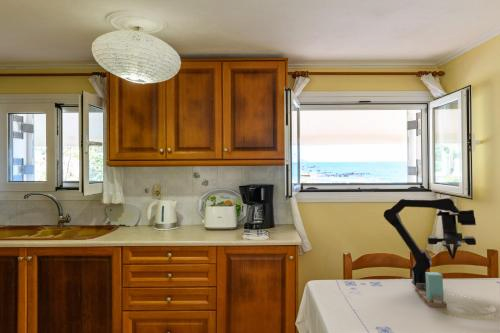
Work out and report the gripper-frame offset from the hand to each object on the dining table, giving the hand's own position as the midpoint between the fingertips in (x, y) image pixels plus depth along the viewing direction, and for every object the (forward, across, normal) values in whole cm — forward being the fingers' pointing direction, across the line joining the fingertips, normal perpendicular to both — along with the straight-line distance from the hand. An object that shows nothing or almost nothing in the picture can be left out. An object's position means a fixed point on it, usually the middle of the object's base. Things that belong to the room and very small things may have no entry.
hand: (452, 259), depth 152 cm
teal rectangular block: (+10, -8, -27) cm, 29 cm away
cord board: (+12, -10, -21) cm, 26 cm away
